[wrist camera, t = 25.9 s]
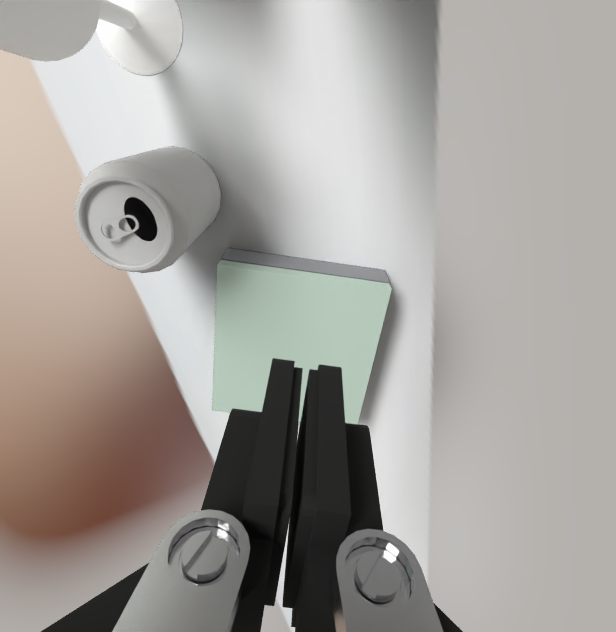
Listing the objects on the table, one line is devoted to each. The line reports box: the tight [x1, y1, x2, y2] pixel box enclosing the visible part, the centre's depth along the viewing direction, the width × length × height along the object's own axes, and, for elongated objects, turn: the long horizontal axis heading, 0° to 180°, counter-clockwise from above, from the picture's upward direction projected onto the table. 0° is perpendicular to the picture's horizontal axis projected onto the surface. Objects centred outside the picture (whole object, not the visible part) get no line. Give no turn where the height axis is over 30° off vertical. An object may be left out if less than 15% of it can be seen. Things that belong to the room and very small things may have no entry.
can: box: [75, 146, 221, 273], centre depth 31 cm, size 8×8×12 cm
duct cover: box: [212, 260, 392, 424], centre depth 39 cm, size 16×15×1 cm
